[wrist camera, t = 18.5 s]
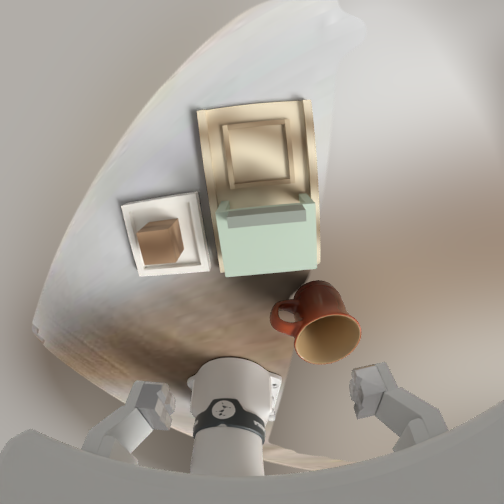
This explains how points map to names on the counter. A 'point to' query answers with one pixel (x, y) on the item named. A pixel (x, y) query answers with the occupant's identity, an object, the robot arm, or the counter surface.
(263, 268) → the green stool
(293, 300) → the mug
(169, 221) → the block
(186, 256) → the dish
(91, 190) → the counter surface
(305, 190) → the board
